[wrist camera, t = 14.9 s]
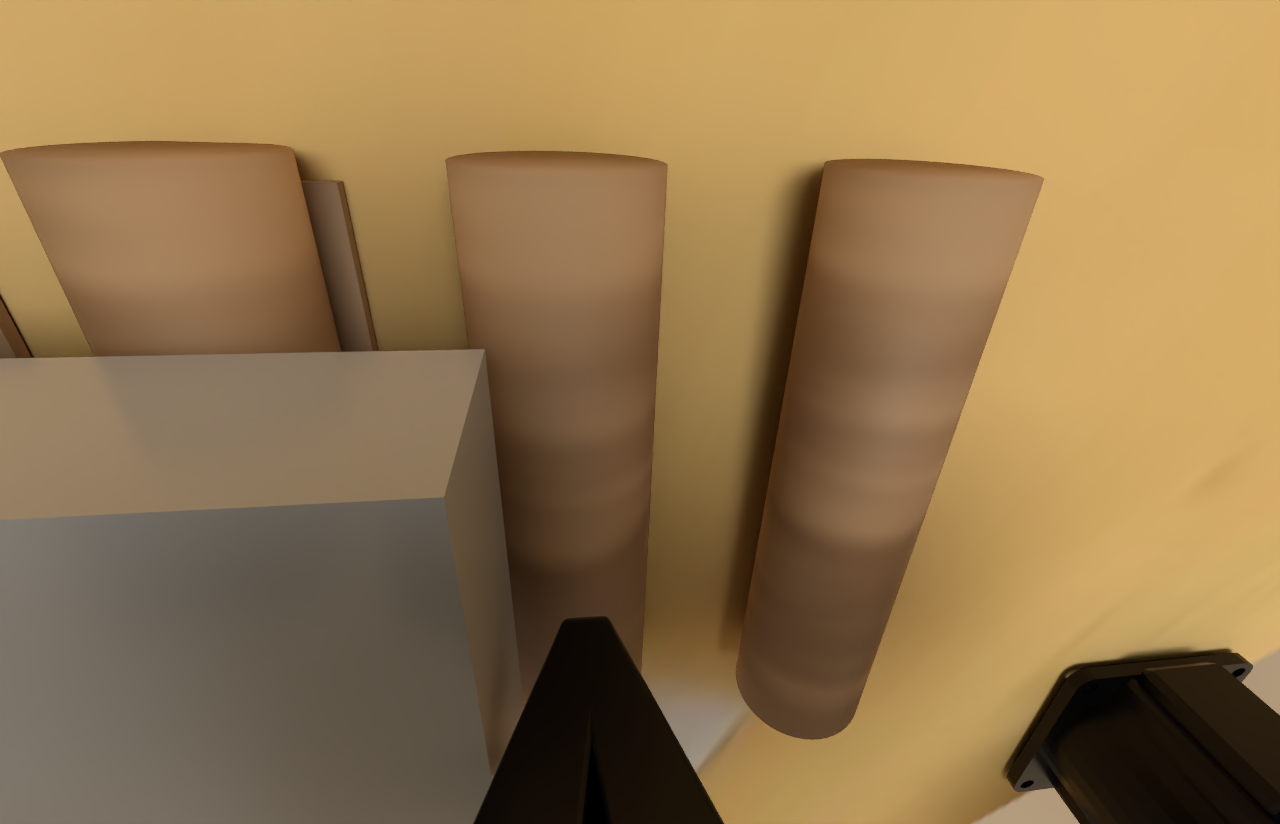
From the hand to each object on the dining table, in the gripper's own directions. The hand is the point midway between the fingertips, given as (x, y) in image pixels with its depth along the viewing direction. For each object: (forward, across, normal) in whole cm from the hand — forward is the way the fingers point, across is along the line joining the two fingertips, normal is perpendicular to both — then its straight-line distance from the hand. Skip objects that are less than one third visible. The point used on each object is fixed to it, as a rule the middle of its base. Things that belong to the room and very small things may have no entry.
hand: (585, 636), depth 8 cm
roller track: (+5, +2, 0) cm, 5 cm away
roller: (+4, +7, 0) cm, 8 cm away
